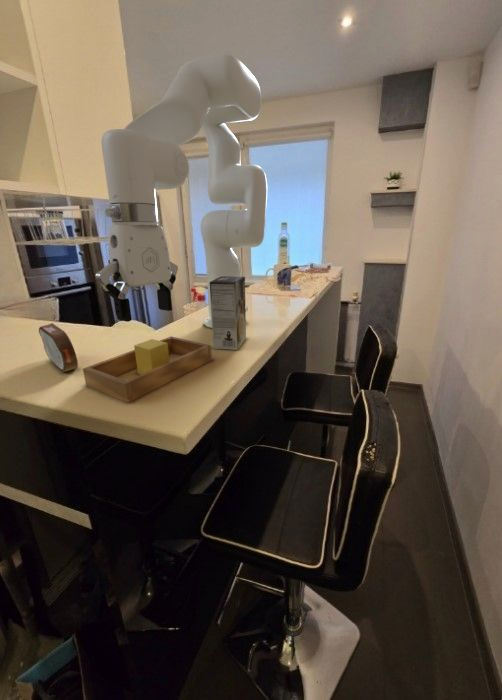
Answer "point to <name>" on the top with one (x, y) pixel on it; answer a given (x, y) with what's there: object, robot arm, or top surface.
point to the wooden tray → (105, 371)
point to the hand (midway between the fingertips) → (146, 314)
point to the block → (151, 355)
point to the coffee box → (228, 312)
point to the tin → (58, 347)
